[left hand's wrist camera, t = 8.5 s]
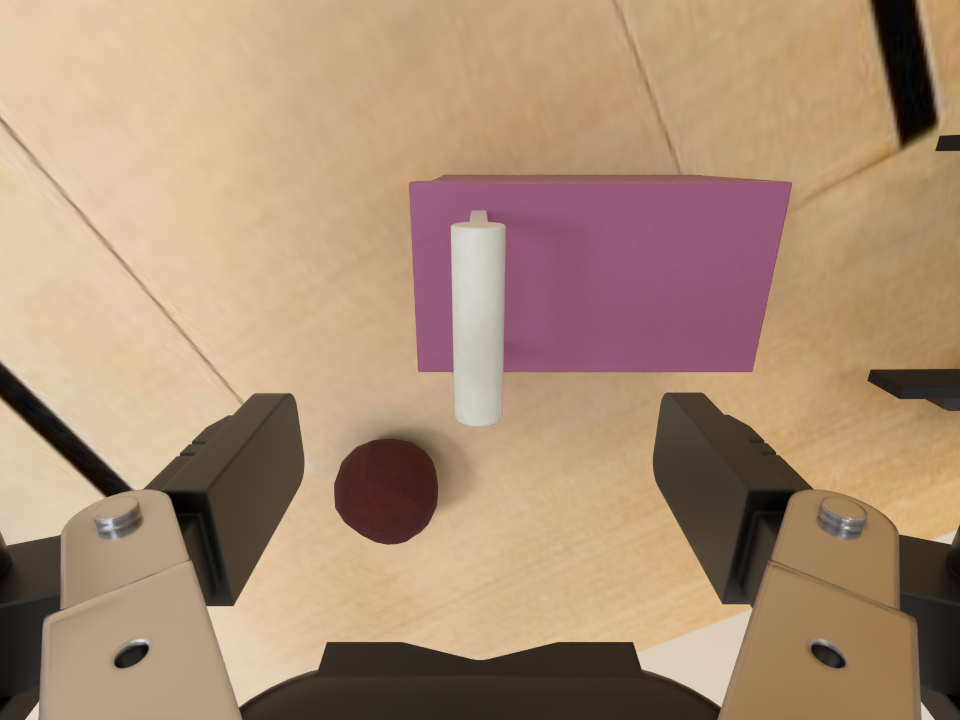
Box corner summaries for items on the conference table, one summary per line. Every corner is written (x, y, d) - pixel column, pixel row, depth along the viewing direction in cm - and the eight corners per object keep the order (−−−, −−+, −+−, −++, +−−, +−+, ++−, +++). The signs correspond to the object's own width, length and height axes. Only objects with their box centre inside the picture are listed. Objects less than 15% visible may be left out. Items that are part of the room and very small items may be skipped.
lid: (420, 363, 27) (394, 453, 19) (412, 180, 24) (375, 192, 16) (740, 363, 27) (856, 453, 19) (777, 181, 24) (938, 192, 16)
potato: (414, 515, 43) (402, 579, 36) (331, 473, 41) (303, 532, 35) (460, 451, 40) (456, 507, 34) (374, 404, 39) (352, 453, 32)
